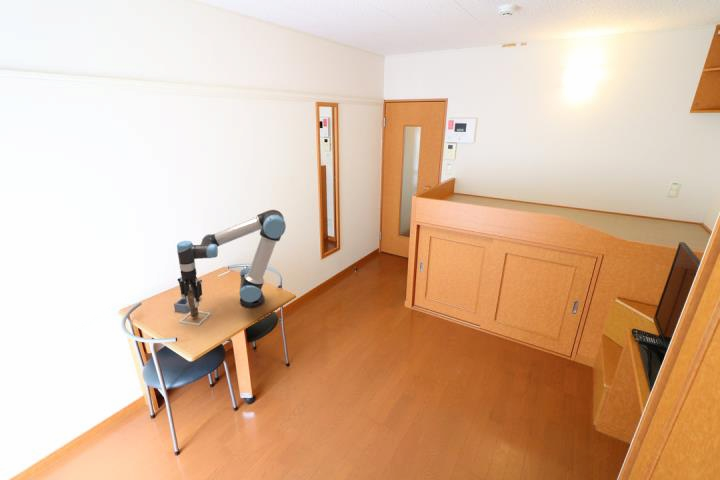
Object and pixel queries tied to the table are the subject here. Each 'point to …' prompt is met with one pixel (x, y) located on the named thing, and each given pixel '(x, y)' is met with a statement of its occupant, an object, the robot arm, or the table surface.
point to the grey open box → (181, 306)
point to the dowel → (192, 304)
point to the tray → (195, 323)
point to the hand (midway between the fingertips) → (193, 305)
